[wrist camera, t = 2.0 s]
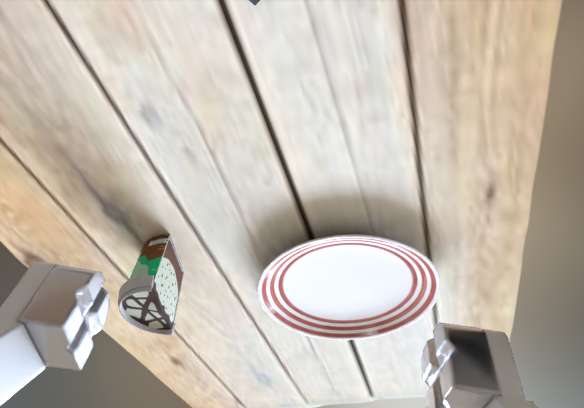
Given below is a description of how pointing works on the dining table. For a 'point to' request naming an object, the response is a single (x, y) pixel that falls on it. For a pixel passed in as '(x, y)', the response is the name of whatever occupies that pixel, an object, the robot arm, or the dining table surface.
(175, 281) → the food container
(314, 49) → the dining table surface
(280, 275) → the dinner plate
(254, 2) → the mat
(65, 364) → the robot arm
